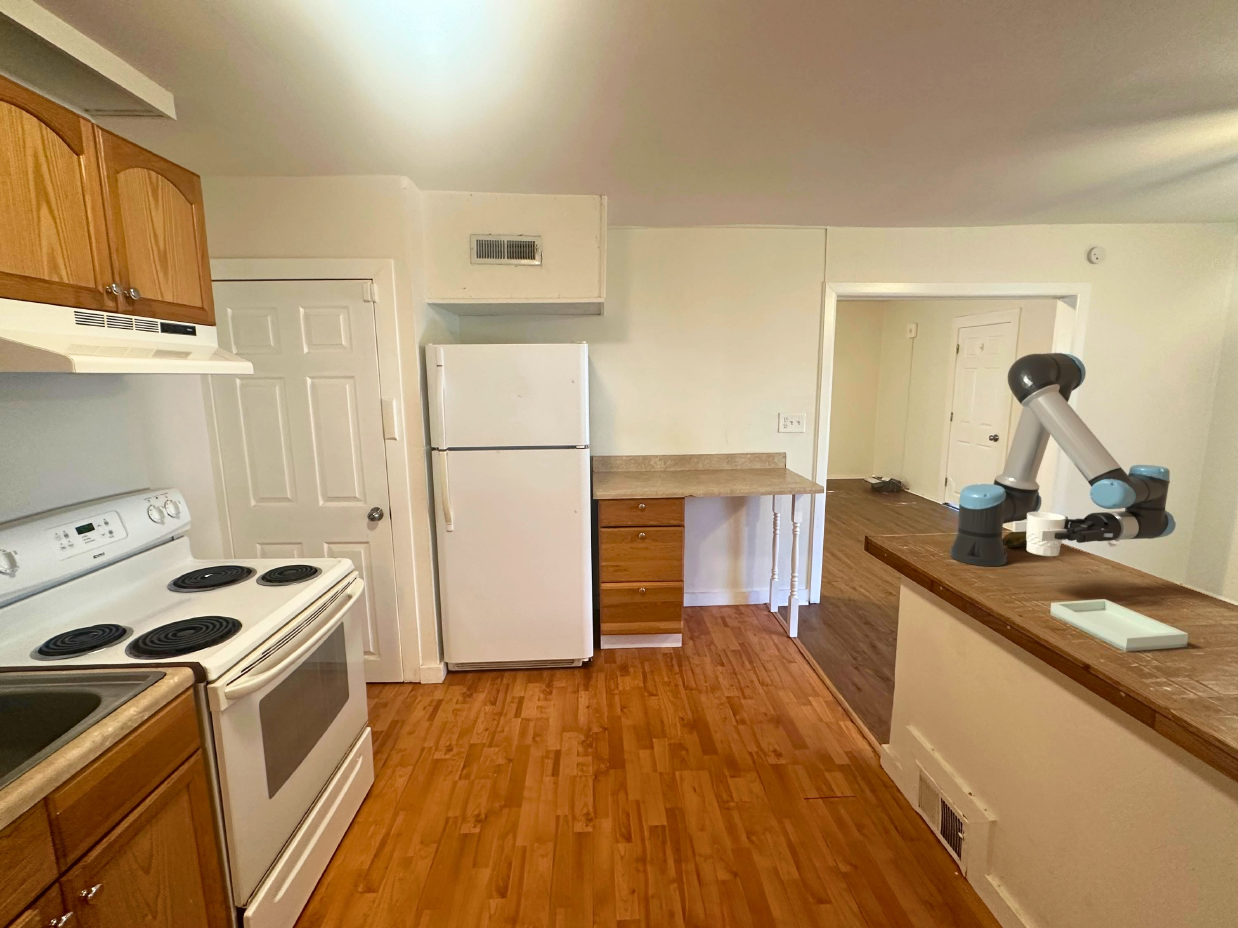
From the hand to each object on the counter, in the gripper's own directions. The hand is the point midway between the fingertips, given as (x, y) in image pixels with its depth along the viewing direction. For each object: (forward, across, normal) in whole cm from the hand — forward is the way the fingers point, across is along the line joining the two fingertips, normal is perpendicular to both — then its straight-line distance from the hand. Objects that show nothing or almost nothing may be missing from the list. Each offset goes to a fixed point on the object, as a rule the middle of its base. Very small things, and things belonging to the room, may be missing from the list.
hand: (1027, 531), depth 136 cm
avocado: (-32, +36, -18) cm, 51 cm away
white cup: (-5, 0, -6) cm, 8 cm away
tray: (-5, -20, -18) cm, 27 cm away
